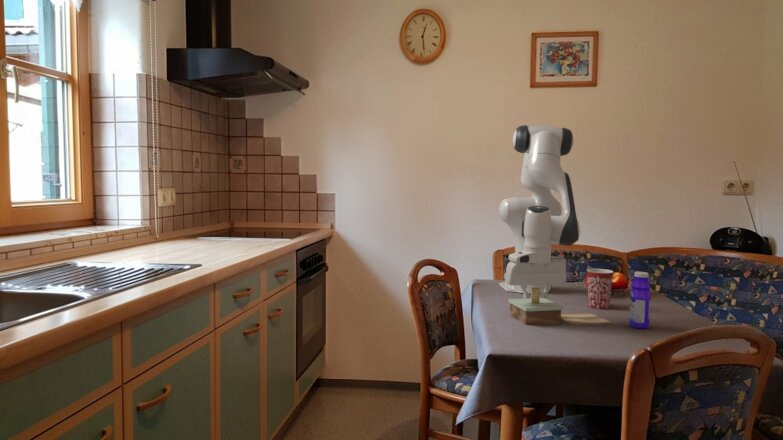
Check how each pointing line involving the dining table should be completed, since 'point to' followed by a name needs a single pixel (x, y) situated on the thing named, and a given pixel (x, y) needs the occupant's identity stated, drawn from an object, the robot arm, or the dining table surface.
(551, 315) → the box
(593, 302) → the mug
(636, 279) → the bottle
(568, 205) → the robot arm
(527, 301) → the lid
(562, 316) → the mat
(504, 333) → the dining table surface
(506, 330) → the dining table surface
